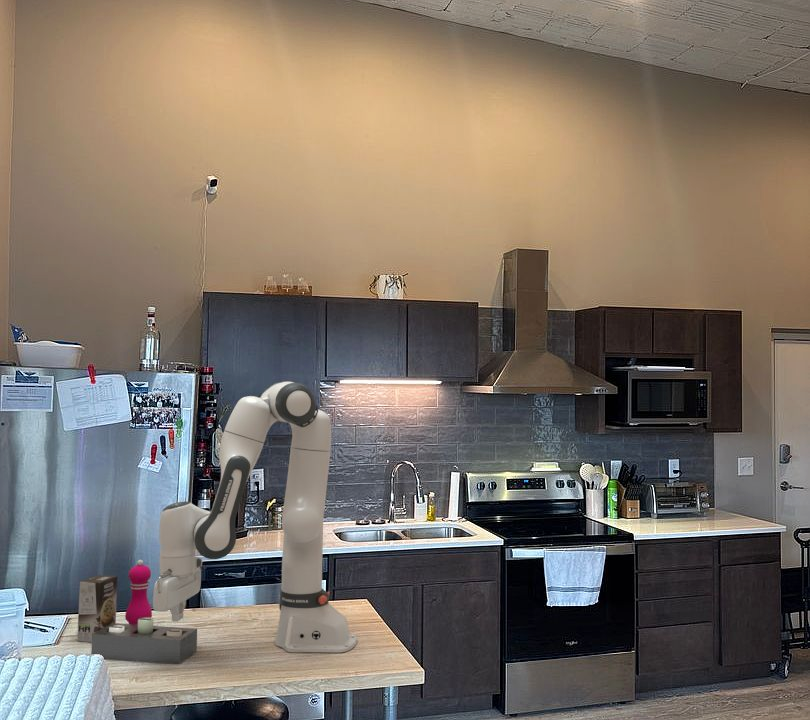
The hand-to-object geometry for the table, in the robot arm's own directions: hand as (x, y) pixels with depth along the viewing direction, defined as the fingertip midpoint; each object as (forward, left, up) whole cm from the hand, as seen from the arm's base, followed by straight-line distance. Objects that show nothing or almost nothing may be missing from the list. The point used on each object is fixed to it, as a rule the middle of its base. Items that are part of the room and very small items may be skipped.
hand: (177, 619), depth 205 cm
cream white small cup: (+1, +1, -7) cm, 7 cm away
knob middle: (+9, +1, -5) cm, 10 cm away
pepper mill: (+21, -18, -10) cm, 29 cm away
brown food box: (+29, -10, -10) cm, 32 cm away
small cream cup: (+17, +1, -7) cm, 18 cm away
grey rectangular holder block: (+9, +1, -9) cm, 13 cm away
